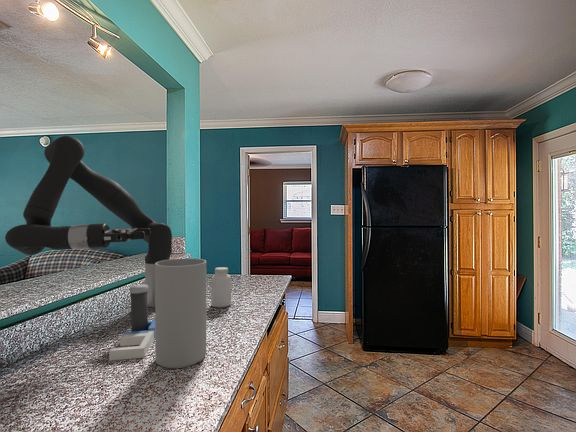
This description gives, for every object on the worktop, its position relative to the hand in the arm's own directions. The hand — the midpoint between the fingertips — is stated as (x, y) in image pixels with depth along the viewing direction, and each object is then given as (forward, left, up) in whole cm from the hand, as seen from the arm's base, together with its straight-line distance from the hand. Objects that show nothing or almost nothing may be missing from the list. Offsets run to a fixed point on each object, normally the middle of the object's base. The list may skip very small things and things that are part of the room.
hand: (147, 233), depth 98 cm
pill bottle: (-1, +33, -31) cm, 46 cm away
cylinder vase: (+23, -5, -31) cm, 39 cm away
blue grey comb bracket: (+5, -6, -31) cm, 32 cm away
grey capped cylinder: (0, -3, -31) cm, 31 cm away
